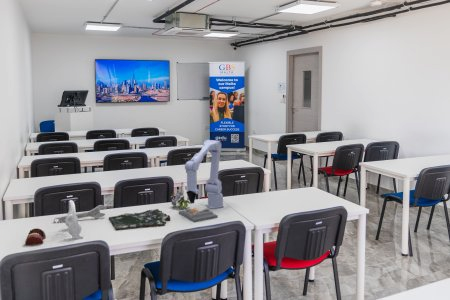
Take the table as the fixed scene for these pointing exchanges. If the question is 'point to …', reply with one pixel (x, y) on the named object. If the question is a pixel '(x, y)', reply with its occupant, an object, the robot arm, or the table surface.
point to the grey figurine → (73, 222)
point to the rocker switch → (197, 209)
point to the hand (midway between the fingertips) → (192, 203)
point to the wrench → (86, 214)
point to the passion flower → (178, 198)
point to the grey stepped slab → (198, 215)
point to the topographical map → (139, 220)
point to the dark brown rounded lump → (35, 237)
